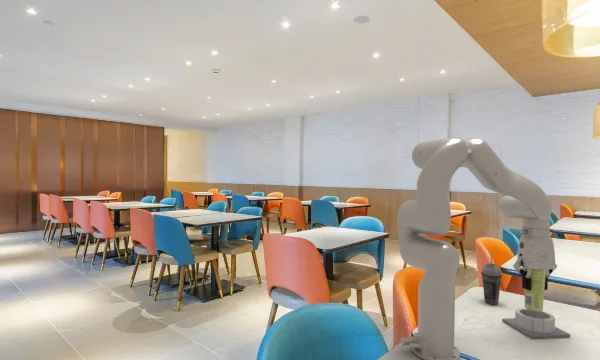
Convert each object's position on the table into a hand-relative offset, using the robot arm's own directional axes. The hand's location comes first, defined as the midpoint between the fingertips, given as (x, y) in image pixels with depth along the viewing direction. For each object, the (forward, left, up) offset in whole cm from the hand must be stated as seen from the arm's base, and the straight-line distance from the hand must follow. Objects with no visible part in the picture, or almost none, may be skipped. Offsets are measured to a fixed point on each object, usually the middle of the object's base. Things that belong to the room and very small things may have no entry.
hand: (534, 288), depth 113 cm
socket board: (0, 0, -13) cm, 13 cm away
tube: (0, 0, -7) cm, 7 cm away
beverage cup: (+1, +23, -14) cm, 27 cm away
